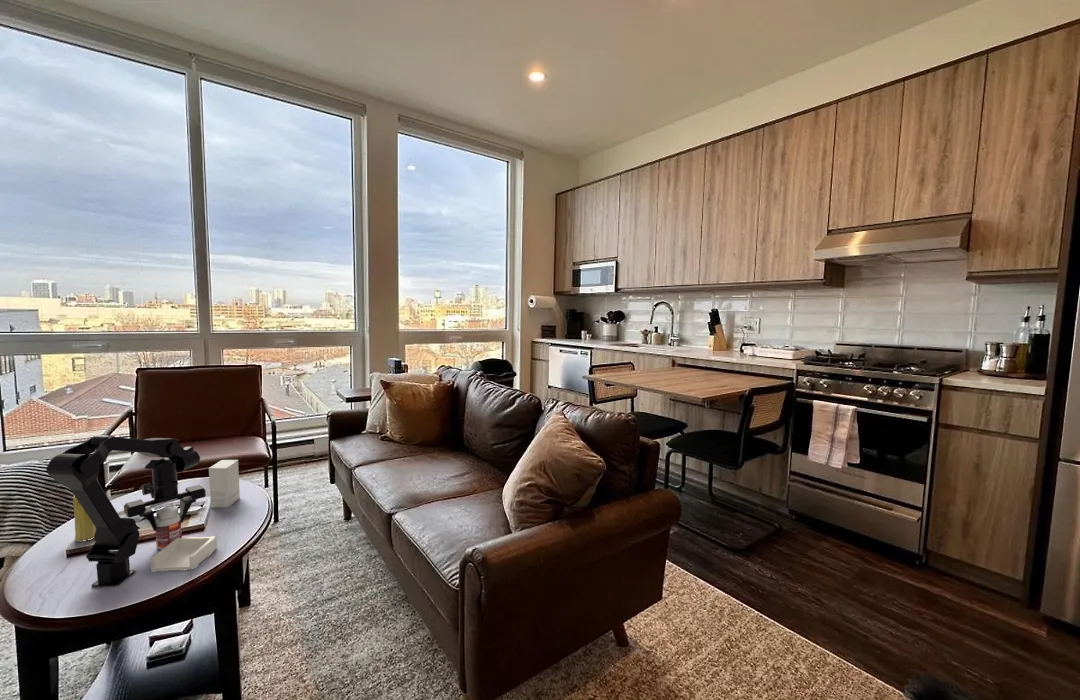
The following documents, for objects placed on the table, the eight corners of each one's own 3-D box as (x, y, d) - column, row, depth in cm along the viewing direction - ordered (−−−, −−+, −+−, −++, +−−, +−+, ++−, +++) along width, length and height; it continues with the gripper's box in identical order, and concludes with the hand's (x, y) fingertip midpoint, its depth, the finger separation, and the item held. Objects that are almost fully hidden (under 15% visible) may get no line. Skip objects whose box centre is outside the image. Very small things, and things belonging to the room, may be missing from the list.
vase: (73, 544, 137) (69, 500, 135) (76, 536, 141) (72, 493, 140) (101, 538, 141) (97, 495, 139) (102, 530, 145) (99, 489, 144)
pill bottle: (173, 549, 135) (171, 514, 134) (151, 550, 134) (148, 515, 133) (186, 538, 141) (184, 505, 140) (165, 539, 140) (163, 506, 139)
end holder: (194, 569, 126) (193, 556, 125) (151, 572, 124) (150, 558, 124) (216, 548, 136) (216, 536, 136) (177, 550, 135) (177, 537, 135)
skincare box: (223, 498, 170) (221, 459, 169) (241, 497, 171) (239, 459, 169) (209, 508, 162) (207, 467, 160) (228, 507, 163) (226, 467, 161)
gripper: (193, 463, 148) (196, 508, 149) (118, 480, 133) (122, 529, 135) (205, 471, 141) (207, 518, 143) (126, 490, 126) (130, 542, 128)
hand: (168, 526), depth 137 cm, fingers closed on pill bottle, 6 cm apart
